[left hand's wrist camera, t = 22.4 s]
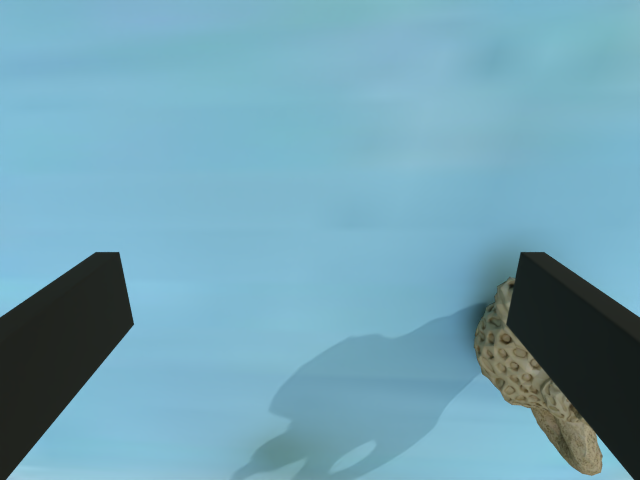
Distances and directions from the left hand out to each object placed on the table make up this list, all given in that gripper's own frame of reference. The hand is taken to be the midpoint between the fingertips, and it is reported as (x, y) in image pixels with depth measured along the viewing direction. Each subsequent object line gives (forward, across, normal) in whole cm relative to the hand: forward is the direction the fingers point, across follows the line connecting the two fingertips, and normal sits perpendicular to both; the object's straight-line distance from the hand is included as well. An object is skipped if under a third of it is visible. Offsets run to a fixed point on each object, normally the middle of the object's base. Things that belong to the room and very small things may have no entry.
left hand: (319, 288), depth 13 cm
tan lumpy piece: (+27, -23, +19) cm, 41 cm away
